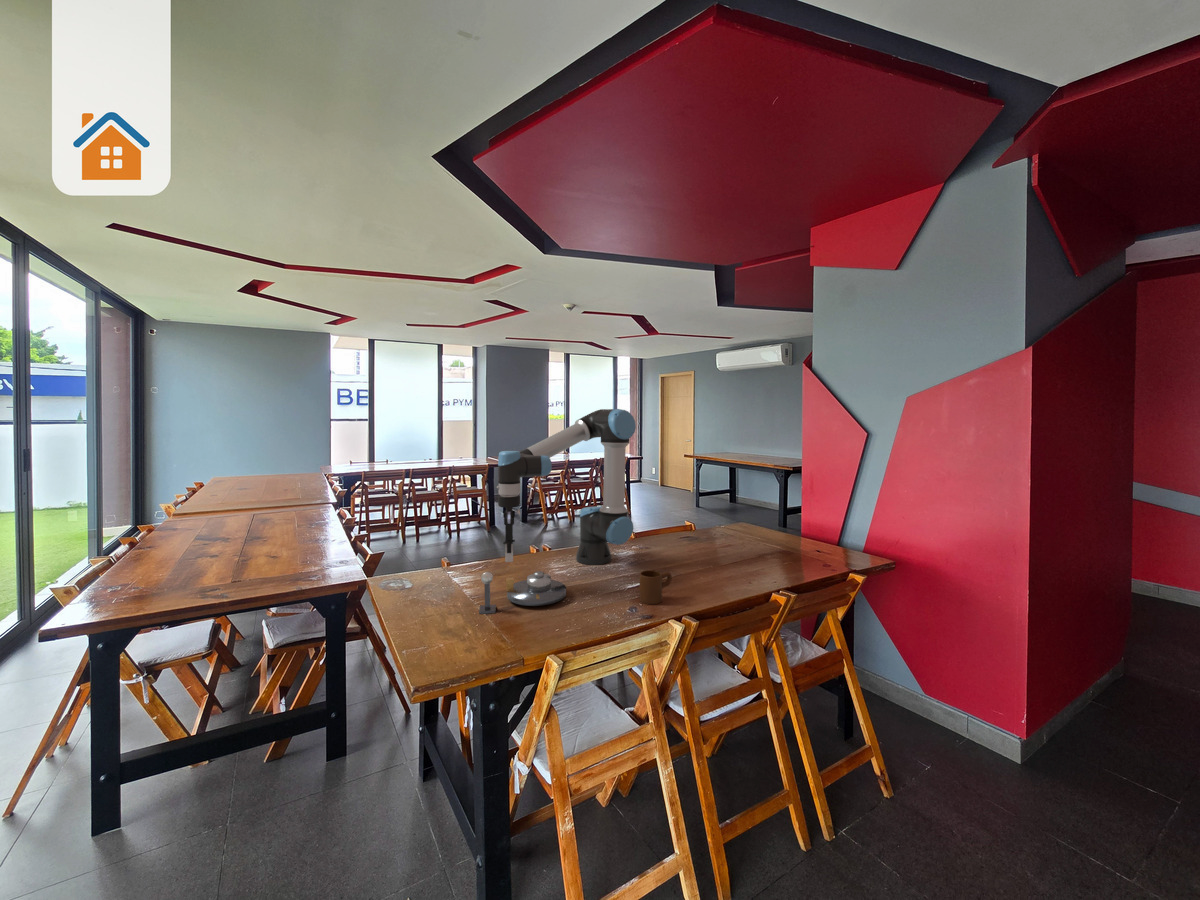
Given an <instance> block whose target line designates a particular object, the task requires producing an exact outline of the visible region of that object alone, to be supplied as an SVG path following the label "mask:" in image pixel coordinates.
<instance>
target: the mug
mask: <svg viewBox="0 0 1200 900" xmlns="http://www.w3.org/2000/svg"><path fill="white" fill-rule="evenodd" d="M664 578H666V580H665V581H663V579H664ZM672 578H673V577H672V574H671V572H669V571H664V572H662V573H661V572H660V571H658V570H651V569H650V570H649V569H648V570H642V571H641V572H640V573H639V584H638V585H639V586H638V587H639V601H640V602H641V603H642V604H644V605H658V604H660V603H661V602H662V600H663V589H664V588H666V587H668V586H669V585H670V584H671V583H672V580H673V579H672Z"/></svg>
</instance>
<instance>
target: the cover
mask: <svg viewBox="0 0 1200 900" xmlns="http://www.w3.org/2000/svg"><path fill="white" fill-rule="evenodd" d="M551 577H552V576H551V575H550V574H548V573H545V572H544V571H542V570H537V571H535V572H534V573H532V574H529V575H527V577H526V578H527V579H526V580H527V590H528V591H530V592H536V593H540V592H546V591H548V590H550V589H551V580H552V578H551Z"/></svg>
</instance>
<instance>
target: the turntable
mask: <svg viewBox="0 0 1200 900" xmlns="http://www.w3.org/2000/svg"><path fill="white" fill-rule="evenodd" d="M505 578H506V580H505V581H506V582H505V584H506V585H505V588H506V597H507V600H508V601H509V602H511V603H513V604H515V605H520V606H527V607H538V606H539V607H540V606H546V605H551V604H555V603H558V602H560V601H561V600H563V599H564V598H566V596H567V586H566V585H565V584H564V583H563V582H561V581H559V580H556V579H551V589H550V590H548V591H546V592H540V593H536V592H530V591H528V590H527V579H524V580H520V581H517V582H514V581H515V580H514V577H513V576H512V577H505Z"/></svg>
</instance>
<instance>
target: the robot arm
mask: <svg viewBox="0 0 1200 900" xmlns="http://www.w3.org/2000/svg"><path fill="white" fill-rule="evenodd" d="M636 425H637V424H636V420H635V417H634V416H633V415H632V413H631V412H630V411H628V410H627V409H621V408H615V409H614V408H612V409H611V408H610V409H608V408H607V409H606V408H605V409H603V408H602V409H598V410H597V409H596V410H595V411H592V412H590V413H588V414H587V415H585V416H582V417H581V418H579V419H576V420H575V422H574V424H572V425H570V426H568V427H566V428H564V429H562V430H560V431H558V432H556V433H554V434H552V435H550V436H548V437H546V438H544V439H543V440H540V441H538V442H537V443H534V444H533V445H530V446H528V447H526V448H525V449H522V450H520V451H518V450H503V451H500V452H499V453H498V457H497V458H498V459H497V466H498V467H497V469H498V470H497V472H498V475H497V476H498V485H496V489H497V490H498V496H497V498H498V500H497V505H498V507H500V508H505V510H503V514H502V515H503V525H504V526H505V534H504V535H505V536H504V537H505V541H503V545H504V553H505V554H504V556H505V557H504V562H505V563H513V562H514V543H515V542H516V540H515V539H514V536H513V534H514V533H513V532H514V531H513V527H514V525H515V517H516V513H515V512H516V510H513V508H517V507H520V505H521V496H520V494H521V478H531V477H532V478H533V477H534V478H536V477H540V478H541V477H545V476H548V475H549V476H550V474H551V472H552V464H553V463H552V460H551V458H552V457H554V456H556V455H558V454H560V453H562V452H564V451H565V450H567V449H570V448H571V447H573V446H575V445H577V444H580V443H581V442H582V441H583V442H588V441H590V440H593V439H597V438H600V444H601V445H602V446H603V448H604V449H603V450H604V451H603V455H604V456H603V494H602V495H603V496H602V497H603V498H602V500H603V501H602V505H598V506H597V505H596V506H587V507H586V506H585V507H583V508H581V509H580V512H579V513H580V514H579V526H580V527H579V528H580V529H579V531H580V534H579V535H580V537H579V545H578V548H577V551H576V554H575V559H576V562H577V563H580V564H583V565H588V566H591V565H593V566H595V565H596V566H597V565H604V564H607V563H610V562H611V561H612V553H611V549H610V546H609V544H611V545H615V546H616V545H617V546H618V545H619V546H620V545H623V544H625V543H626V542H628V540H630V539H631V537H632V534H633V532H634V522H633V521H632V519H630V517H628V515H629V510H628V508H627V507H626V506H625V496H626V495H625V492H626V490H625V489H626V488H625V486H626V485H625V484H626V448H627V446H628V445H629V444H630V443H631V442H630V439H631V438H632V437H633V435H634V434H635V433H636V432H635V431H636V429H637V428H636V427H637V426H636ZM608 543H609V544H608Z"/></svg>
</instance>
